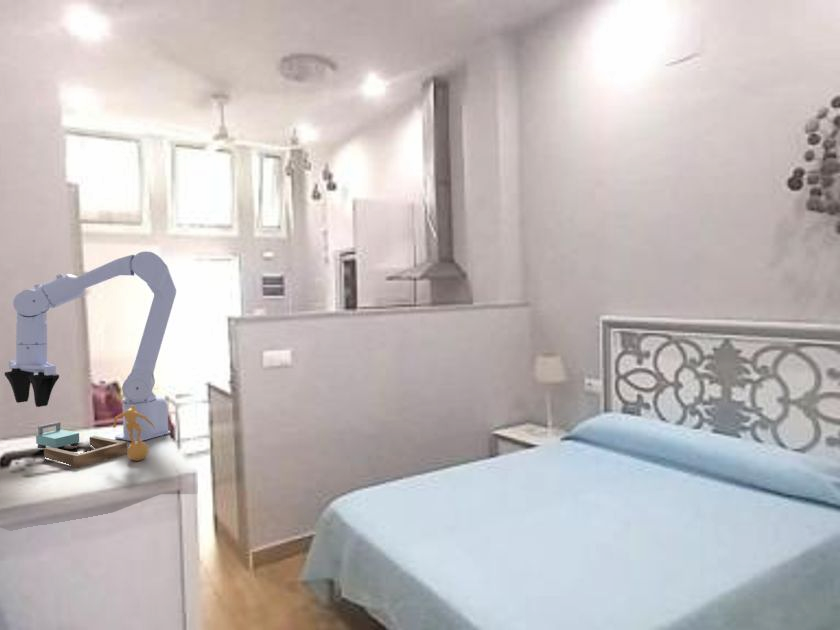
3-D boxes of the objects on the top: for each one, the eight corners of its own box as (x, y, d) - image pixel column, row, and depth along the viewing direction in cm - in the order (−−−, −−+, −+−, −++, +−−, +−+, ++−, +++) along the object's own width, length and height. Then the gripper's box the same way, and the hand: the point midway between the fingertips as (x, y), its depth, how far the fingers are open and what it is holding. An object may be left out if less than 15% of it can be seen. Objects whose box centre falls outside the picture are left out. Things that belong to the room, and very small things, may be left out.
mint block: (60, 444, 131) (59, 421, 130) (79, 449, 128) (78, 425, 127) (36, 450, 126) (35, 426, 126) (55, 455, 123) (54, 430, 123)
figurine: (162, 457, 122) (160, 401, 121) (149, 466, 116) (147, 407, 115) (122, 457, 122) (121, 401, 121) (107, 466, 116) (105, 407, 115)
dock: (95, 446, 130) (94, 435, 130) (127, 453, 124) (127, 442, 124) (44, 459, 120) (43, 448, 120) (77, 467, 115) (76, 456, 115)
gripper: (-6, 342, 128) (-6, 402, 129) (31, 347, 122) (31, 411, 122) (27, 340, 134) (27, 398, 135) (65, 345, 128) (65, 405, 129)
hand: (31, 404), depth 129 cm, fingers open, 7 cm apart
